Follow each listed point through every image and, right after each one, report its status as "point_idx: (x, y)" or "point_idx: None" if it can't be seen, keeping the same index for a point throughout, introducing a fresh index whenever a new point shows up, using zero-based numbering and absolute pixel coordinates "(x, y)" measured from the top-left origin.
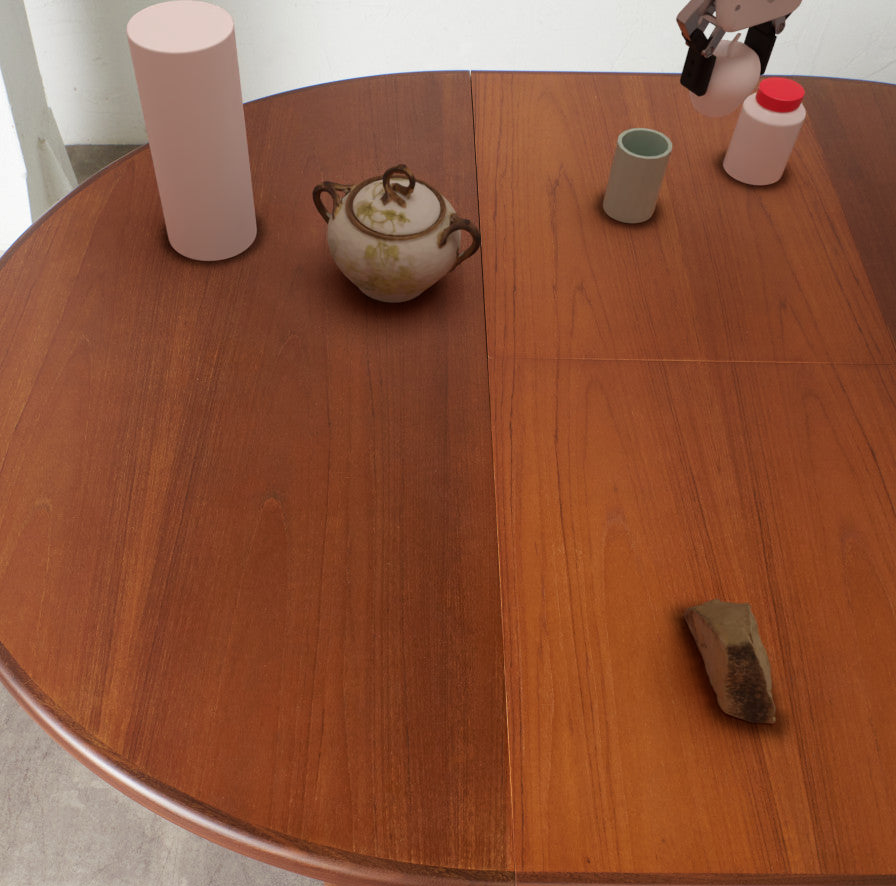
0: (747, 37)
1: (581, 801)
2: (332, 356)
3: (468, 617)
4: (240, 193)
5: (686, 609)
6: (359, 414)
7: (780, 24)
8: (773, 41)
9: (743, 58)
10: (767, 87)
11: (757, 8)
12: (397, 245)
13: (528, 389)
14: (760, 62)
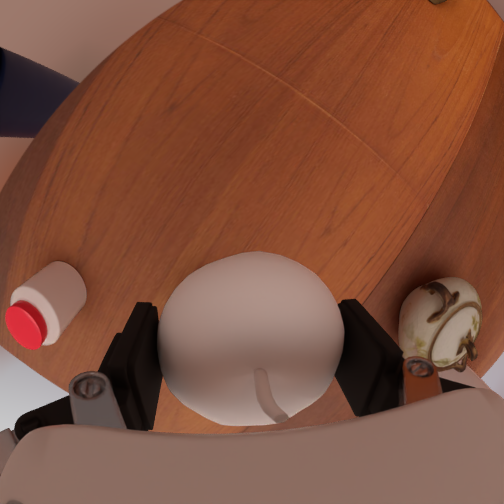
0: (155, 407)
1: (487, 13)
2: (474, 261)
3: (499, 83)
4: (462, 380)
5: (444, 1)
6: (488, 213)
7: (87, 397)
8: (120, 357)
9: (258, 342)
10: (34, 339)
11: (427, 479)
12: (477, 301)
13: (427, 163)
14: (150, 327)
